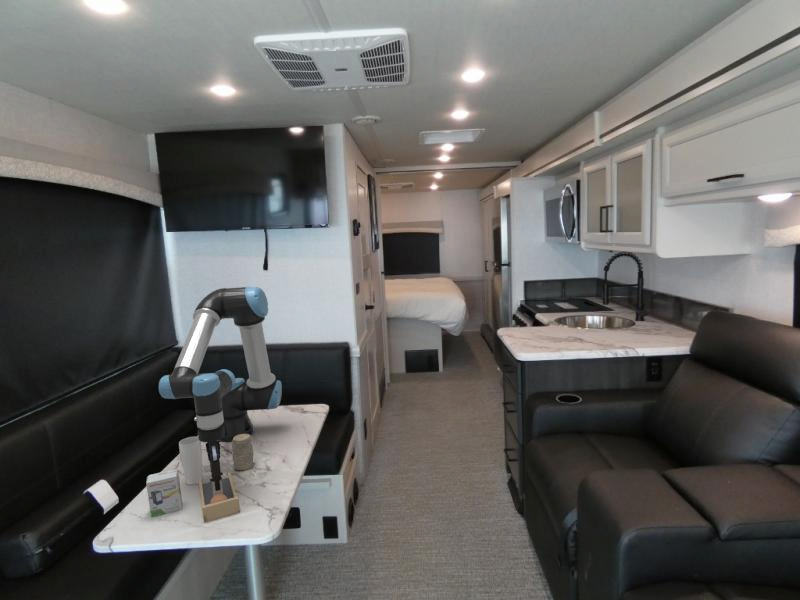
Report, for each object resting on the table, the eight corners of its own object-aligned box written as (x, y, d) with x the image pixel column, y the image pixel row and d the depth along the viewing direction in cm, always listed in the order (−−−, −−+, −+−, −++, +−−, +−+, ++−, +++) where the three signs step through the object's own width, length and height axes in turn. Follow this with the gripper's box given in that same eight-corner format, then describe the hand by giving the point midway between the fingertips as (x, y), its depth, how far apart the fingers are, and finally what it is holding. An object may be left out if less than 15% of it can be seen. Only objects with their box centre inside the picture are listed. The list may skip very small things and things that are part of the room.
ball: (210, 512, 141) (208, 495, 142) (228, 507, 144) (225, 490, 144) (212, 515, 137) (209, 498, 138) (230, 510, 139) (227, 493, 140)
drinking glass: (209, 478, 162) (204, 437, 160) (195, 488, 156) (190, 446, 154) (193, 476, 164) (189, 435, 162) (179, 486, 158) (173, 444, 156)
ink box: (182, 503, 147) (178, 467, 146) (182, 511, 143) (177, 475, 141) (152, 510, 144) (147, 474, 142) (150, 519, 139) (145, 482, 138)
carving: (258, 464, 170) (255, 433, 169) (243, 474, 164) (240, 442, 162) (245, 462, 173) (242, 431, 171) (230, 471, 166) (226, 439, 165)
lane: (199, 486, 157) (197, 472, 156) (230, 478, 161) (229, 464, 161) (204, 524, 136) (202, 508, 135) (240, 513, 140) (238, 498, 139)
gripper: (196, 421, 146) (204, 491, 149) (198, 435, 135) (207, 512, 138) (221, 416, 150) (229, 485, 153) (226, 430, 138) (233, 504, 141)
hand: (218, 498), depth 145 cm, fingers closed
